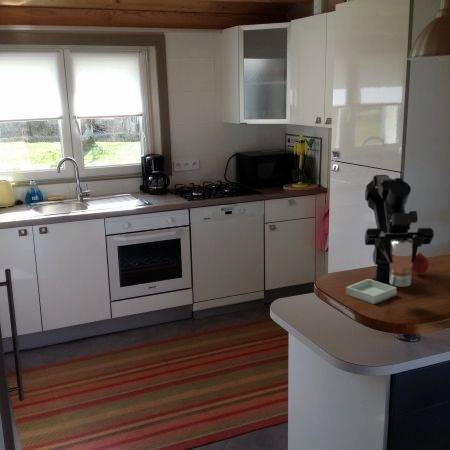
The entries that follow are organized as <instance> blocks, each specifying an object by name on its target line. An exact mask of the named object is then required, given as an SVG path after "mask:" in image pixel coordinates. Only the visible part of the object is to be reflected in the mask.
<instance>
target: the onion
mask: <svg viewBox="0 0 450 450" xmlns="http://www.w3.org/2000/svg"><path fill="white" fill-rule="evenodd" d="M429 262H430V261H429V260H428V258H427V257H426V256H425V255H423V252H421V251H419V252H418V253H417V254H416V258H415V262H414V263H413V262H412V273H415V275H417V276H421V275H422V274H424V273H426V272H427V271H428V269H429V267H430V264H429Z"/></svg>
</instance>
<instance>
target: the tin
mask: <svg viewBox="0 0 450 450" xmlns="http://www.w3.org/2000/svg"><path fill="white" fill-rule="evenodd" d="M412 252H413V241H412V239H404V238H397V239H392V240H391V248H390V255H391V263H390V271H389V273H390V276H389V283H390V285H391V286H393V287H408V286H411V285H412V275H413V270H412V256H413V253H412Z"/></svg>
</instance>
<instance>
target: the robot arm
mask: <svg viewBox="0 0 450 450" xmlns="http://www.w3.org/2000/svg"><path fill="white" fill-rule="evenodd" d="M411 189H412V188H411V186H410V185H409V183H408V182H406V181H404V180H403V178H402V177H395V178H391V177H390V175H387V174H375V175H373V177H372V180H371V181H370V182H369V183H367V185H366V186H365V192H364V200H365V201H366V202H367V206H368V208H370V209H371V210H372V211H373V213H374V218H375V225H376V228H375V227H374V228H373V227H371V228H367V229H366V230H365V235H364V245H366V246H374V249H373V251H372V261H373V263H374V265H375V266H376V268H375V269H376V273H375V277H373V278H372V280H374V281H377V282H381V283H384V284H387V285H390V286H391V284H390V283H389V276H390V273H389V271H390V263H391V255H390V248H391V240H392V239H397V238H404V239H409V240H412V241H413V252H412V253H413V256H412V262H413V263H414V262H415V258H416V255H417V254H418V253H417V252H418V248H420V247H422V245H431V242H432V240H433V238H434V237H435V234H434V232H435V231H434V229H433V228H432V227H418V228H417V231H415V232H414V231H411V232H410V231H409V230H411V225H412V224H417V222H418V220H419V219H418V212H417V211H416V210H413V211H412V210H410V211H409V212H406V207H405V206H406V204H407V202H408V199H409V196H410V194H411Z"/></svg>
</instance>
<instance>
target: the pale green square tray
mask: <svg viewBox="0 0 450 450" xmlns="http://www.w3.org/2000/svg"><path fill="white" fill-rule="evenodd" d="M397 287H398V286H394V285H391V284H390V285H387V284H384V283H381V282H377V281H374V280H373V279H370V278H366V279H364V280H361V281H358V282H356V283H354V284H350V285H348V286H346V287H345V295H346V296H349V297H353V298H355V299H357V300H360V301H364V302H366V303H369V304H371V305H375V304H378V303H381V302H383V301H385V300H388V299H391V298H394V297H395V296H397V289H398V288H397Z"/></svg>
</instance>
